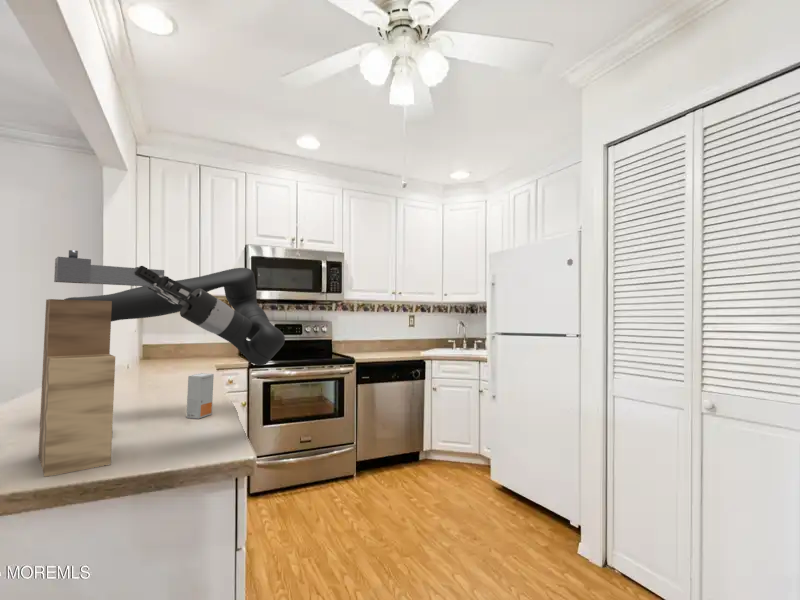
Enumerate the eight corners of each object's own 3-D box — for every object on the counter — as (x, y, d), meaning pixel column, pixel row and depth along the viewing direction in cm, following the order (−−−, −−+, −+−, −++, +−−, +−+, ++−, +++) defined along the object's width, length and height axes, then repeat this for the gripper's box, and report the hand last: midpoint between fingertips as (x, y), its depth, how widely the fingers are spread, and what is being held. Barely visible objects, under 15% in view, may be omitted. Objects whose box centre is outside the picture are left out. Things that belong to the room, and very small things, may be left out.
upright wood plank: (38, 455, 88) (46, 299, 89) (97, 446, 95) (103, 301, 96) (44, 476, 77) (53, 298, 78) (110, 464, 84) (117, 300, 85)
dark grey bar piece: (54, 282, 83) (55, 250, 83) (158, 287, 95) (159, 259, 95) (56, 281, 79) (58, 247, 79) (164, 286, 91) (165, 257, 92)
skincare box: (199, 419, 121) (200, 376, 121) (185, 418, 121) (187, 375, 122) (212, 414, 127) (214, 373, 127) (200, 413, 127) (201, 372, 128)
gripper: (205, 298, 106) (137, 257, 96) (228, 297, 96) (155, 252, 86) (188, 325, 104) (117, 286, 94) (210, 327, 93) (132, 283, 83)
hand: (135, 270), depth 90 cm, fingers closed on dark grey bar piece, 3 cm apart
